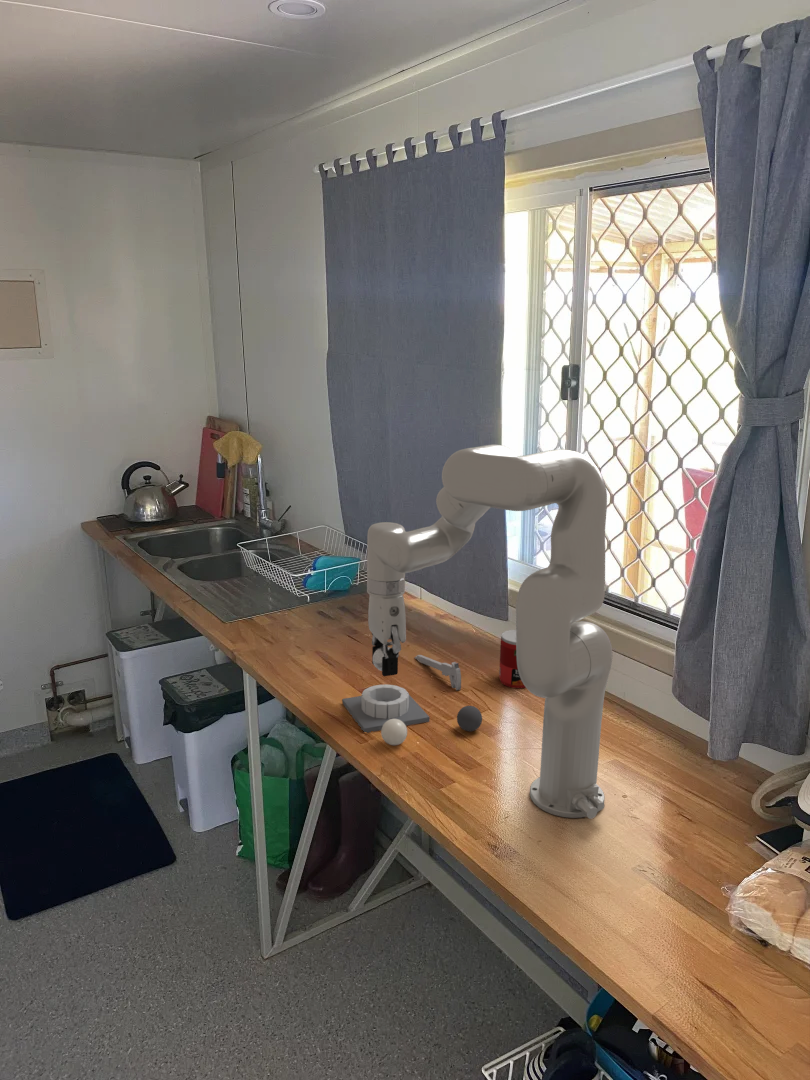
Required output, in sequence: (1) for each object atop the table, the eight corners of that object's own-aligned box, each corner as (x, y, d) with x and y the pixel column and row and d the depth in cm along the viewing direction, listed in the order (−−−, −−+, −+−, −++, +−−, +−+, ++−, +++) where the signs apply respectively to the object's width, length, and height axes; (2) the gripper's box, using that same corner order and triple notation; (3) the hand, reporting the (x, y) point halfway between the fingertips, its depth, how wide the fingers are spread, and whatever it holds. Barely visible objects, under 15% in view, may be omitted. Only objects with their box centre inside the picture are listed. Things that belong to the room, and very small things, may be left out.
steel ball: (400, 673, 173) (401, 650, 172) (377, 676, 171) (377, 653, 170) (391, 663, 178) (392, 641, 176) (369, 667, 176) (369, 644, 174)
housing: (429, 721, 173) (429, 703, 172) (364, 733, 168) (364, 714, 167) (403, 693, 186) (404, 676, 185) (342, 703, 181) (342, 685, 179)
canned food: (514, 691, 187) (516, 645, 184) (491, 678, 194) (493, 633, 191) (540, 684, 191) (543, 638, 188) (518, 671, 198) (520, 627, 195)
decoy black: (486, 733, 169) (487, 710, 167) (463, 737, 167) (463, 714, 165) (474, 722, 173) (475, 699, 172) (452, 726, 171) (453, 703, 170)
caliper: (461, 691, 187) (461, 665, 186) (456, 692, 187) (457, 666, 185) (418, 658, 205) (418, 633, 203) (414, 659, 205) (414, 634, 203)
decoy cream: (411, 747, 163) (411, 723, 161) (386, 752, 161) (386, 728, 160) (401, 735, 167) (401, 712, 166) (377, 739, 165) (377, 716, 164)
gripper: (419, 596, 163) (417, 683, 168) (388, 570, 178) (387, 651, 183) (383, 600, 161) (382, 689, 165) (354, 574, 176) (354, 656, 181)
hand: (384, 668), depth 174 cm, fingers closed on steel ball, 5 cm apart
